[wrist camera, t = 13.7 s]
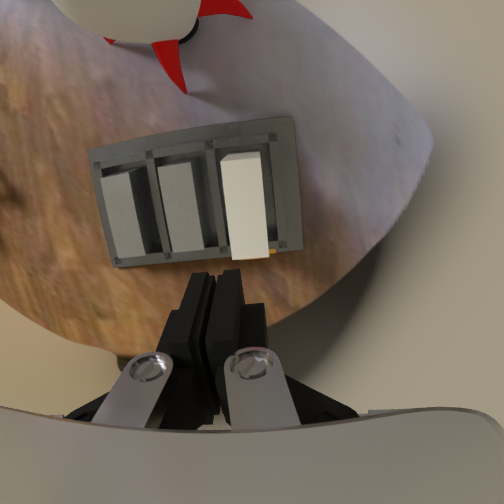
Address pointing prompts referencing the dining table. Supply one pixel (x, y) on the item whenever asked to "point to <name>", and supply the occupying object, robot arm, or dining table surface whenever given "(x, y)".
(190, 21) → the rocket
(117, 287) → the dining table surface
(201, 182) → the rack
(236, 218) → the block
